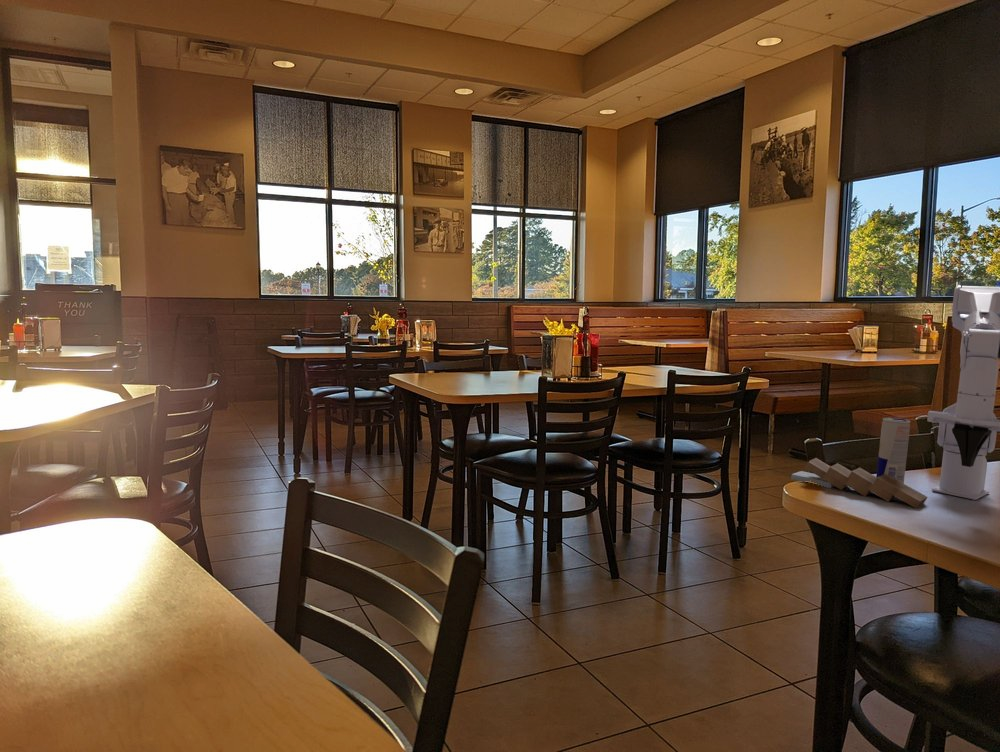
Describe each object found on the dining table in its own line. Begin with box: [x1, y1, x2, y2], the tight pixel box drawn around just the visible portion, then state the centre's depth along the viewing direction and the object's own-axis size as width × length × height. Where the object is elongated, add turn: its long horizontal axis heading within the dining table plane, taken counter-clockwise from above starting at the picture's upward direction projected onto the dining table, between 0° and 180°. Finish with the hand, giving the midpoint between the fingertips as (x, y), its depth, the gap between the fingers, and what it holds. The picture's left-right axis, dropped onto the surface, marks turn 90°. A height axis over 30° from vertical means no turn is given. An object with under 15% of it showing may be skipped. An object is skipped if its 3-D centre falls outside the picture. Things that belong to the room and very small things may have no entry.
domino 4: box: [848, 467, 896, 502], centre depth 140 cm, size 5×2×8 cm
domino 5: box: [874, 474, 928, 509], centre depth 136 cm, size 5×2×8 cm
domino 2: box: [804, 457, 849, 491], centre depth 146 cm, size 5×2×8 cm
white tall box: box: [875, 417, 911, 484], centre depth 144 cm, size 5×5×15 cm
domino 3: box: [826, 463, 873, 497], centre depth 143 cm, size 5×2×8 cm
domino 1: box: [790, 470, 836, 489], centre depth 149 cm, size 5×2×8 cm
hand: (967, 465), depth 129 cm, fingers closed
